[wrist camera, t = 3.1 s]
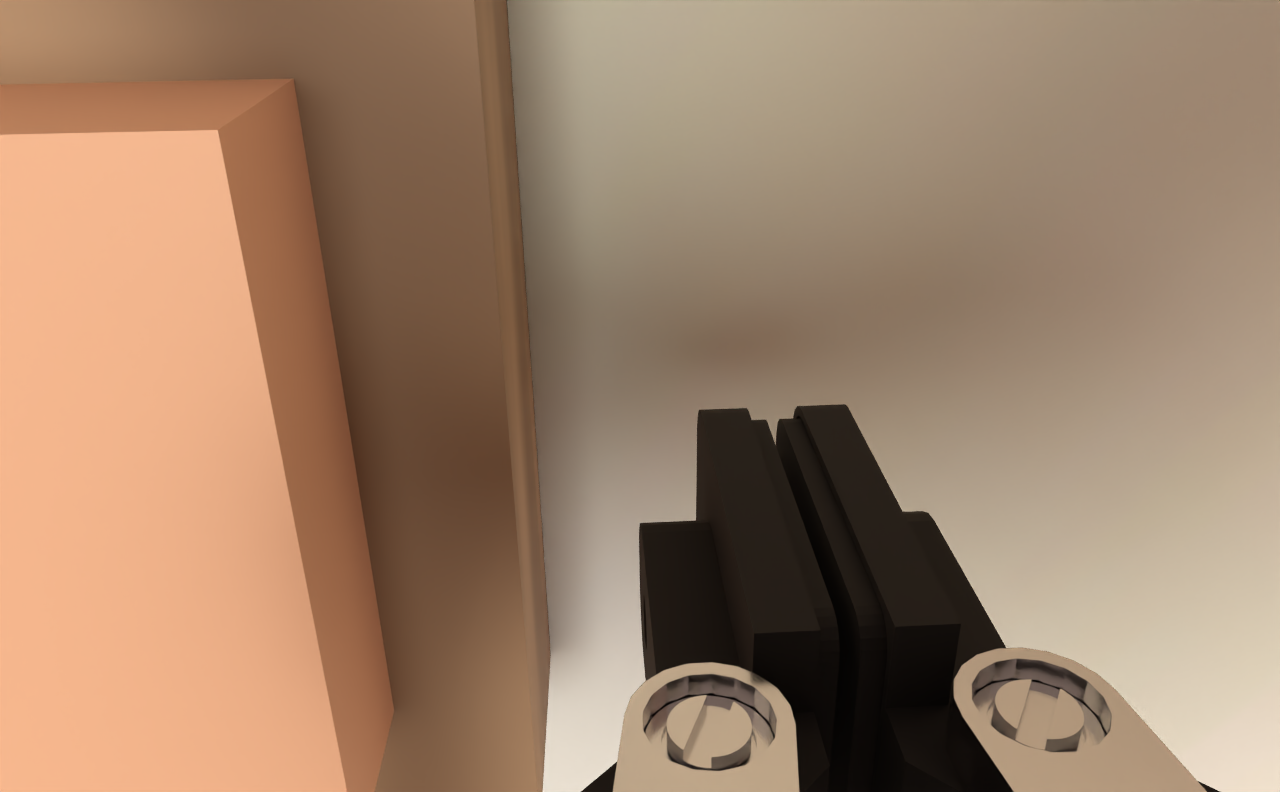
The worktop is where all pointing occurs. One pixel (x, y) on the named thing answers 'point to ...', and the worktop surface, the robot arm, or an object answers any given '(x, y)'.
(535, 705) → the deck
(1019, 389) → the worktop surface
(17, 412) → the peach flat block
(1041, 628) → the worktop surface
